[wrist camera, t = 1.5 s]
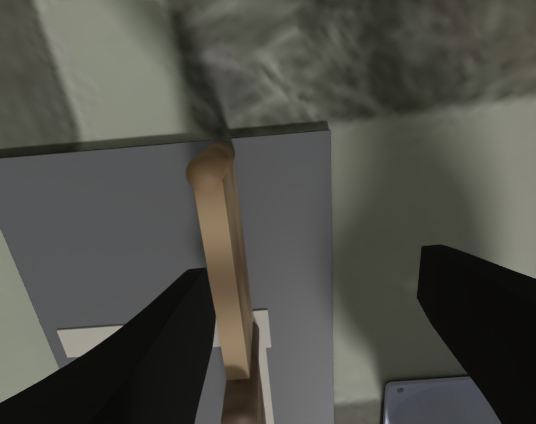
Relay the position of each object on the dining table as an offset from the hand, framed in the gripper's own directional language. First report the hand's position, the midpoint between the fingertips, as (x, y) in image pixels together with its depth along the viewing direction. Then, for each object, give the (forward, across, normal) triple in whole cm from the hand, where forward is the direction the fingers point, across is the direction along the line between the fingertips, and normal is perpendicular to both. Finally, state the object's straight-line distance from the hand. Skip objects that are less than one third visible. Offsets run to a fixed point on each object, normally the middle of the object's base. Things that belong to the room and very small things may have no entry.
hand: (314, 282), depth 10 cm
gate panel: (+8, +4, +2) cm, 9 cm away
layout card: (+8, +8, +9) cm, 15 cm away
